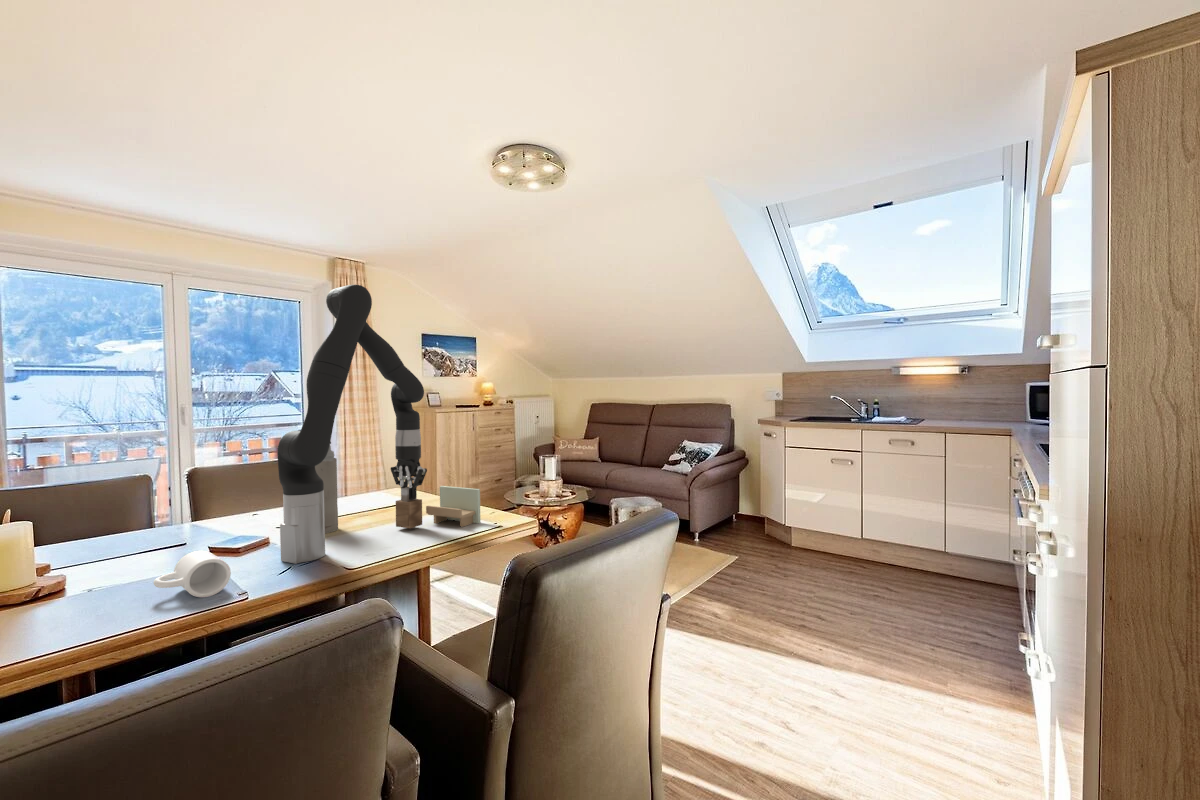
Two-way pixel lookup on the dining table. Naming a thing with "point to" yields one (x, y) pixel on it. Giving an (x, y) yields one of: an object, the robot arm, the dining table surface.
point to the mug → (197, 574)
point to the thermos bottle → (329, 490)
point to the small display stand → (457, 505)
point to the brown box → (408, 510)
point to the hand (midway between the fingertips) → (408, 498)
